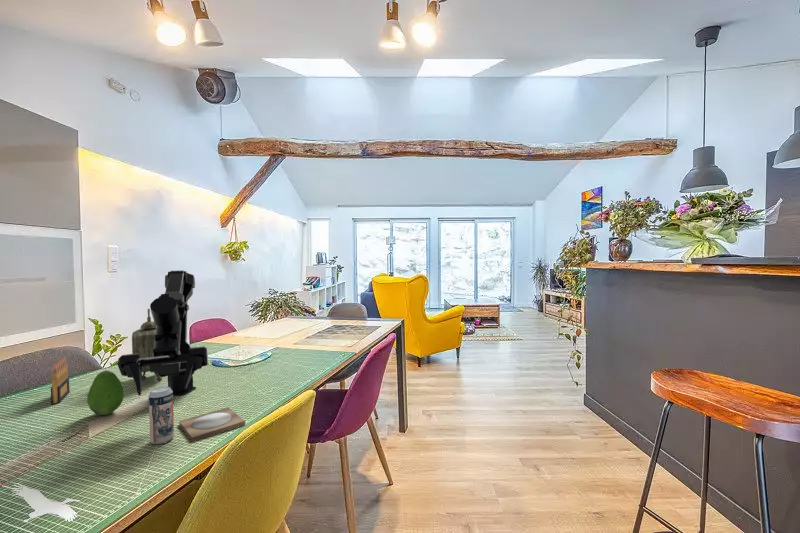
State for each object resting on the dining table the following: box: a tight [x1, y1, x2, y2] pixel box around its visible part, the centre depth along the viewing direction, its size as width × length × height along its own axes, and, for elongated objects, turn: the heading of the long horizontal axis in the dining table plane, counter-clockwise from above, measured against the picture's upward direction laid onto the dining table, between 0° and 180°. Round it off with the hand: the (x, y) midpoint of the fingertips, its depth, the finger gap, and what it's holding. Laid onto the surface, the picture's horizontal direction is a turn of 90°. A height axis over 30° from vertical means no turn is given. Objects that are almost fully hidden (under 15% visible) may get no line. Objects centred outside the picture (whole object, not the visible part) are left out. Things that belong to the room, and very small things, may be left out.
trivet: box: [178, 406, 246, 442], centre depth 93 cm, size 12×12×1 cm
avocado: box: [86, 370, 125, 416], centre depth 101 cm, size 8×8×12 cm
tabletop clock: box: [131, 308, 163, 382], centre depth 130 cm, size 14×9×25 cm, turn 34°
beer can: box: [148, 385, 175, 445], centre depth 85 cm, size 5×5×12 cm
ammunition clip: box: [50, 356, 71, 406], centre depth 113 cm, size 11×2×12 cm, turn 30°
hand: (162, 391), depth 87 cm, fingers open, 9 cm apart
